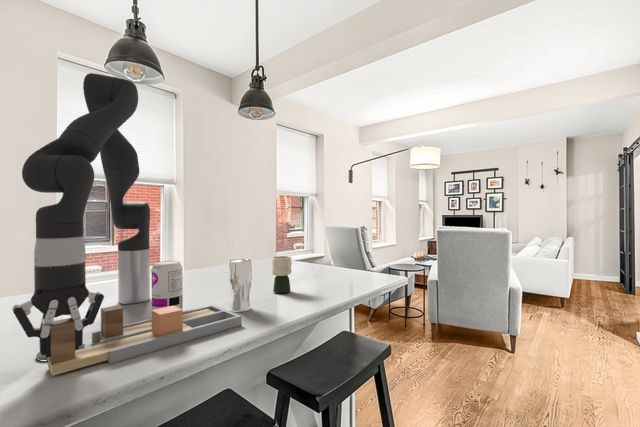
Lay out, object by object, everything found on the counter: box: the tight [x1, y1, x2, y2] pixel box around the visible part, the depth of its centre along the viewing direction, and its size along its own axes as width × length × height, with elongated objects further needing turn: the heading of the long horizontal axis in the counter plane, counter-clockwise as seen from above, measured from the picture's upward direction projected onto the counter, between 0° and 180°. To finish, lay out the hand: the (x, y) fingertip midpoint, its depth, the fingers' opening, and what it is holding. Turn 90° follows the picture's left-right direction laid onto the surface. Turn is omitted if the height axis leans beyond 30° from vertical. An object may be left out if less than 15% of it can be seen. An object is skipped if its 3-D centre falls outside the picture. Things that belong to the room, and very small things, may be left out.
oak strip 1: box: [47, 317, 191, 377], centre depth 69 cm, size 6×26×9 cm, turn 136°
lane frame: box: [91, 304, 243, 365], centre depth 79 cm, size 15×30×2 cm, turn 136°
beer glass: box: [228, 258, 253, 313], centre depth 99 cm, size 7×7×15 cm
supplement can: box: [151, 260, 184, 311], centre depth 95 cm, size 8×8×15 cm
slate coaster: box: [35, 342, 86, 360], centre depth 69 cm, size 8×8×1 cm
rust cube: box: [151, 306, 184, 337], centre depth 75 cm, size 5×5×5 cm
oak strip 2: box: [100, 304, 214, 340], centre depth 81 cm, size 6×26×8 cm, turn 136°
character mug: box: [271, 255, 293, 294], centre depth 120 cm, size 11×7×13 cm, turn 39°
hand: (61, 352), depth 61 cm, fingers closed on oak strip 1, 3 cm apart
